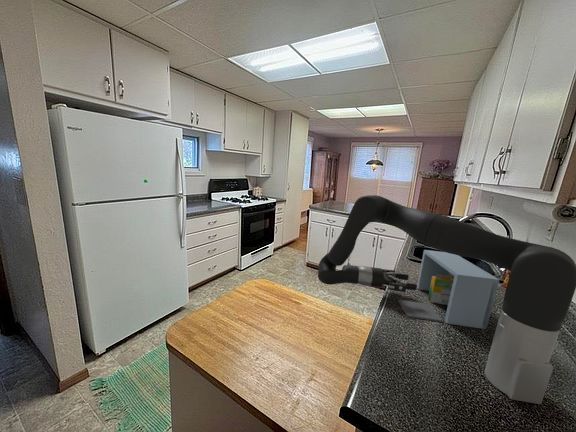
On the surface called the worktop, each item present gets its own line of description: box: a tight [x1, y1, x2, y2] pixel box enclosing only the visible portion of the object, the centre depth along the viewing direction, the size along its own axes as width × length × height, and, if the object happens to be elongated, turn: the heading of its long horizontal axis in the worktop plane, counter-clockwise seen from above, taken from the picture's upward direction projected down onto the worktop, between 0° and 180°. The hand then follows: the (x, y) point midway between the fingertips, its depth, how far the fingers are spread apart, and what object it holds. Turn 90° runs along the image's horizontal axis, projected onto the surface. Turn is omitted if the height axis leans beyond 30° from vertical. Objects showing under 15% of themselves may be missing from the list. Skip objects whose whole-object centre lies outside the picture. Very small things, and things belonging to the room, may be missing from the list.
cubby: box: [416, 249, 500, 330], centre depth 88 cm, size 25×12×17 cm, turn 172°
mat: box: [397, 299, 443, 323], centre depth 84 cm, size 10×11×1 cm
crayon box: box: [427, 274, 454, 306], centre depth 91 cm, size 7×3×12 cm, turn 80°
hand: (411, 282), depth 92 cm, fingers open, 8 cm apart
